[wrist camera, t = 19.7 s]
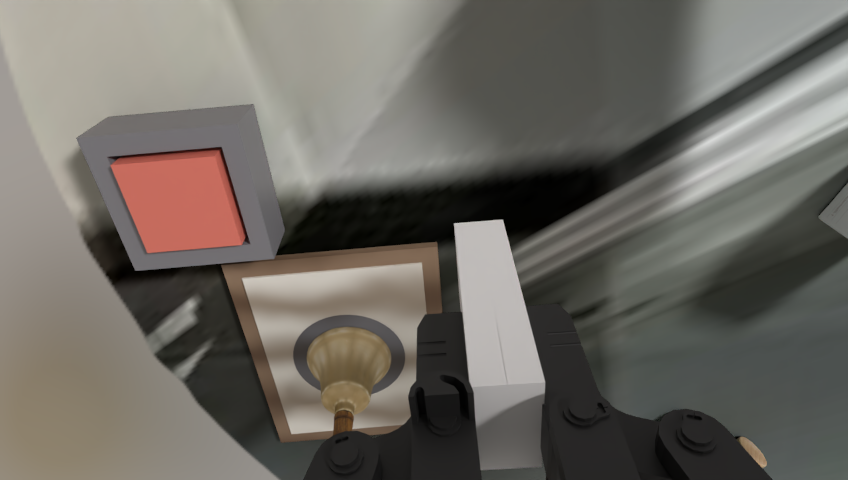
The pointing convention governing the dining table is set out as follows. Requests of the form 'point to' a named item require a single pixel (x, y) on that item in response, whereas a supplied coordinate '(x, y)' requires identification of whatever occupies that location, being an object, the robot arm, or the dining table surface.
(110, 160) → the button housing
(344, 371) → the hand bell
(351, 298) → the drawing board
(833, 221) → the supplement box
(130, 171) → the button
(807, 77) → the dining table surface
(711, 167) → the dining table surface
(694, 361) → the dining table surface
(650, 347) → the dining table surface
